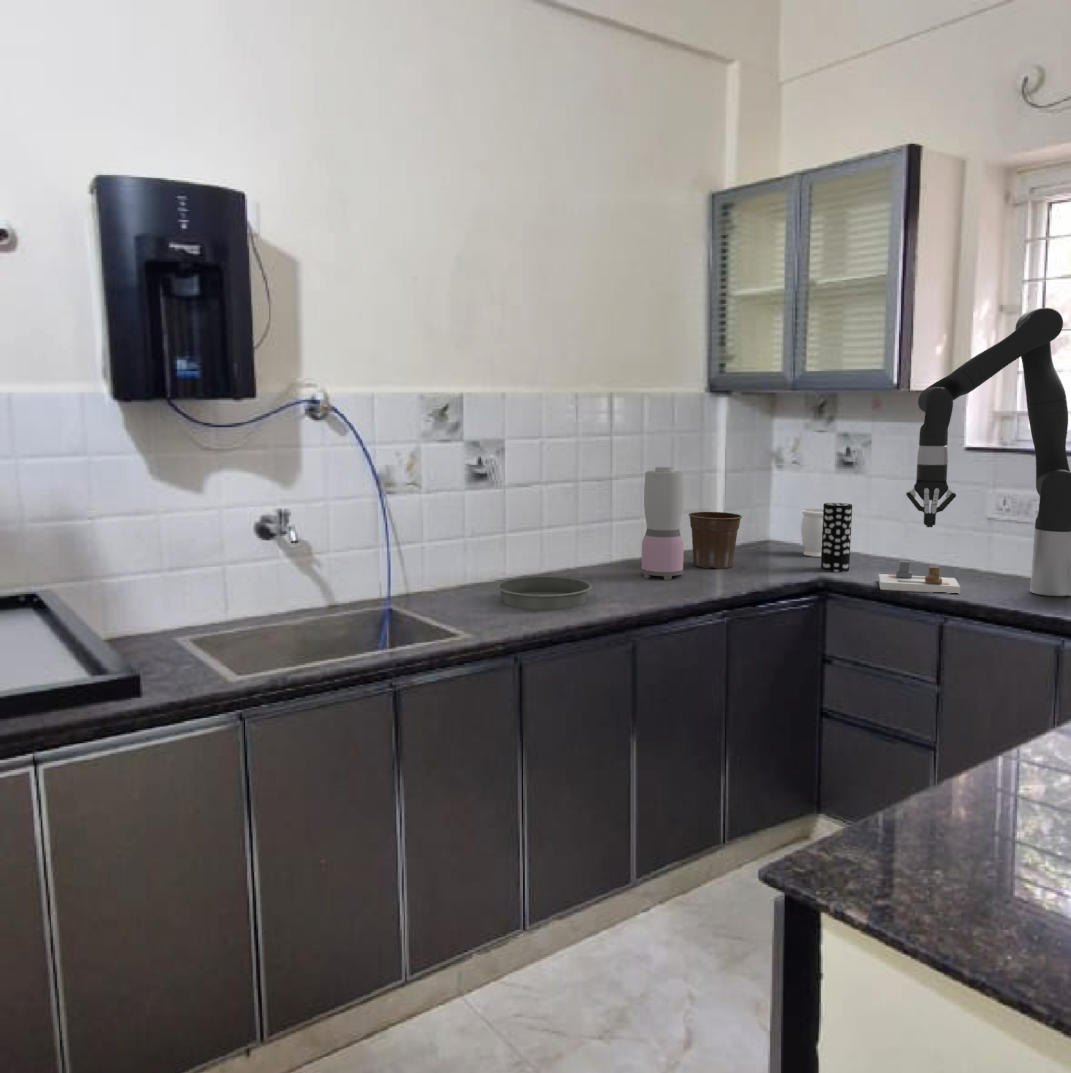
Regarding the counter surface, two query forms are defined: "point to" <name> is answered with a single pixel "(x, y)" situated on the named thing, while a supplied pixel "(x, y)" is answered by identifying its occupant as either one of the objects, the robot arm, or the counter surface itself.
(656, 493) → the blender
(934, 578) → the brown tab
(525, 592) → the cake pan
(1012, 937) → the counter surface
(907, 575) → the charcoal tab
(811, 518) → the jar
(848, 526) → the white-spotted black cylinder
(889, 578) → the switch panel
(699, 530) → the plant pot
